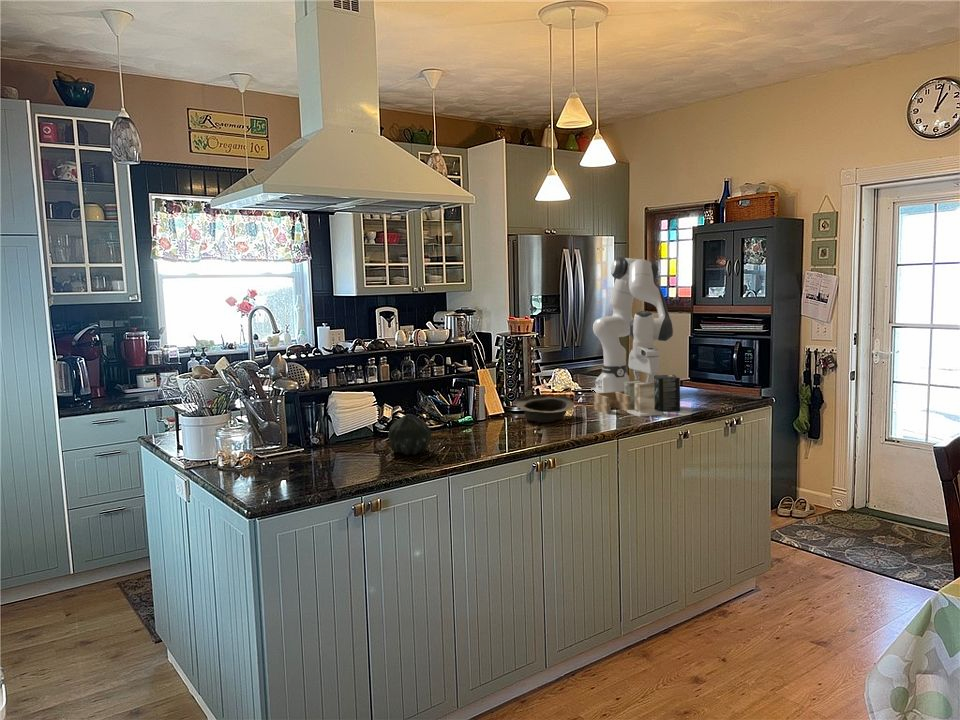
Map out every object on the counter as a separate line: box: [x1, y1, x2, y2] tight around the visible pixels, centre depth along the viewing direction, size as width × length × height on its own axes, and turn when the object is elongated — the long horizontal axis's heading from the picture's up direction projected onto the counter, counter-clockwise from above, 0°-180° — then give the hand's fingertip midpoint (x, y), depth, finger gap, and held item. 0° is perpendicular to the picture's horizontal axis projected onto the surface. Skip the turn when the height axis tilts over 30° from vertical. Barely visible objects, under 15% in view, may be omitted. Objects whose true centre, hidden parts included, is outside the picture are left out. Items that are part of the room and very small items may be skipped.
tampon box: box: [653, 374, 681, 412], centre depth 319 cm, size 11×9×15 cm
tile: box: [626, 409, 664, 418], centre depth 311 cm, size 11×11×1 cm
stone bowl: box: [514, 393, 575, 424], centre depth 305 cm, size 25×25×9 cm
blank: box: [635, 381, 656, 413], centre depth 311 cm, size 4×7×12 cm, turn 107°
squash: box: [388, 413, 432, 456], centre depth 254 cm, size 14×15×15 cm
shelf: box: [592, 380, 645, 415], centre depth 321 cm, size 13×22×12 cm, turn 107°
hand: (642, 382), depth 310 cm, fingers open, 8 cm apart
